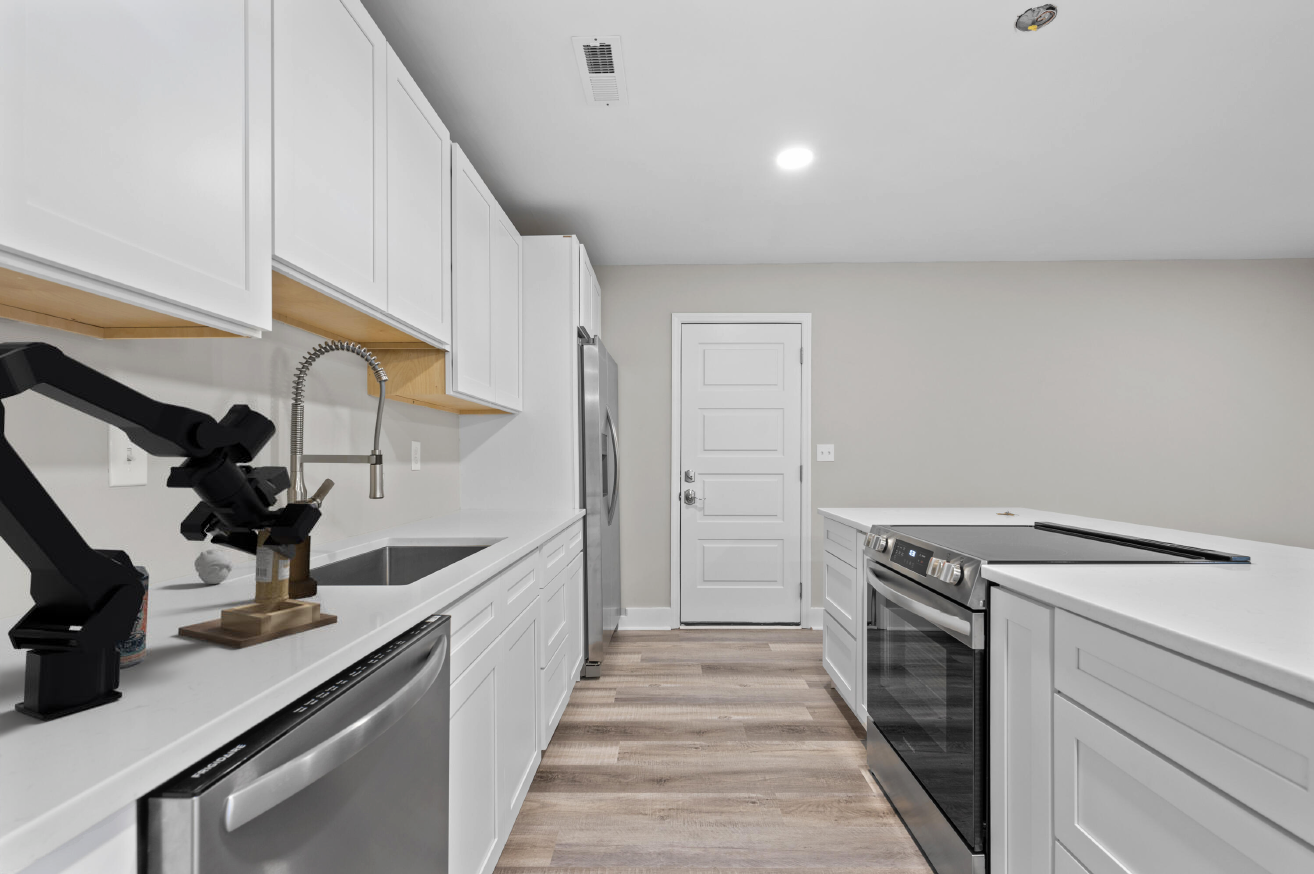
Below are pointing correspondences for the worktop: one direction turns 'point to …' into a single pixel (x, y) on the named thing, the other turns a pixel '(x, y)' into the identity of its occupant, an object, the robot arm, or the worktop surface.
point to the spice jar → (270, 573)
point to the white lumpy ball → (213, 566)
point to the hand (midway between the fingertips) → (279, 556)
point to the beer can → (136, 631)
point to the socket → (259, 623)
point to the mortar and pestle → (301, 571)
